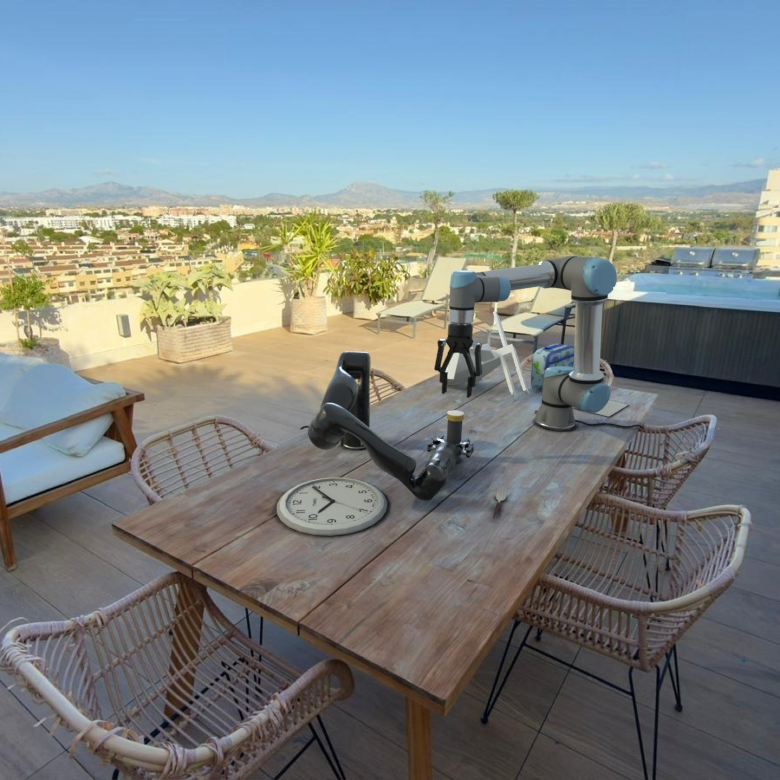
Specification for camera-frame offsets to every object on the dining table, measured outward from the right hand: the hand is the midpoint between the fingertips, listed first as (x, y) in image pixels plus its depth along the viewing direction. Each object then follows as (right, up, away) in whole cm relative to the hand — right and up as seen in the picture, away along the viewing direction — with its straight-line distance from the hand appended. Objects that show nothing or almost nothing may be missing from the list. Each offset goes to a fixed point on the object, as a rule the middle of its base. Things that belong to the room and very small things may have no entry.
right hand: (456, 394), depth 165 cm
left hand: (0, -15, +7) cm, 16 cm away
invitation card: (+70, -6, +61) cm, 93 cm away
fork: (+9, -31, -22) cm, 39 cm away
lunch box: (+56, +2, +86) cm, 103 cm away
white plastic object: (+21, 0, +78) cm, 80 cm away
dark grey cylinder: (0, -22, +7) cm, 23 cm away
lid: (0, -6, +2) cm, 7 cm away
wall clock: (-37, -30, -23) cm, 53 cm away
